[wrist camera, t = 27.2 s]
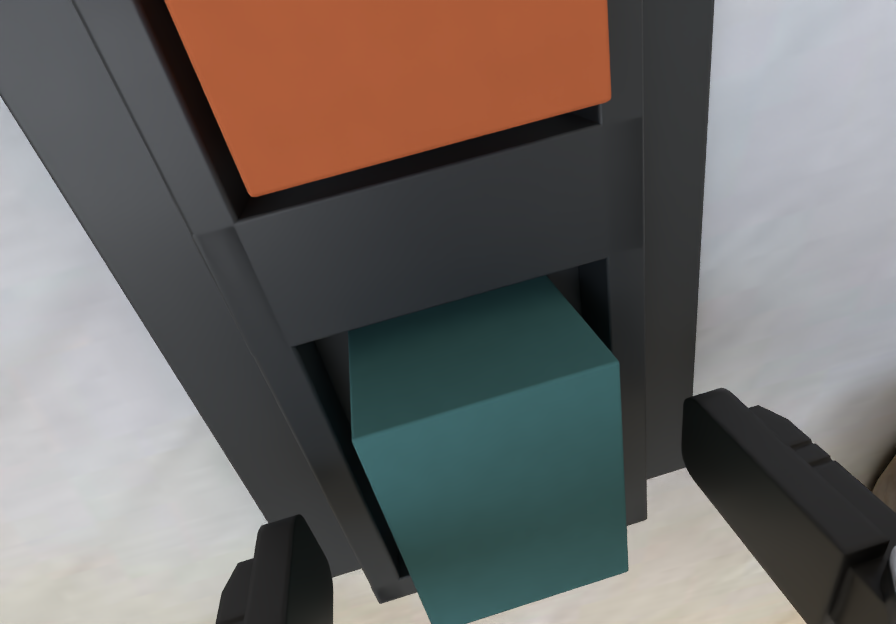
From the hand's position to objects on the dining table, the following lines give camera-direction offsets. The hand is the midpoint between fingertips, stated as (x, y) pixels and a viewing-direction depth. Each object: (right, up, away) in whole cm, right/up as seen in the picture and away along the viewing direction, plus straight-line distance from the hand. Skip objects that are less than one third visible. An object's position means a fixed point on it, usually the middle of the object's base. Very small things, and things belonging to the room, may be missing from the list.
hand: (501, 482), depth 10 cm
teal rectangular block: (0, +1, +2) cm, 3 cm away
